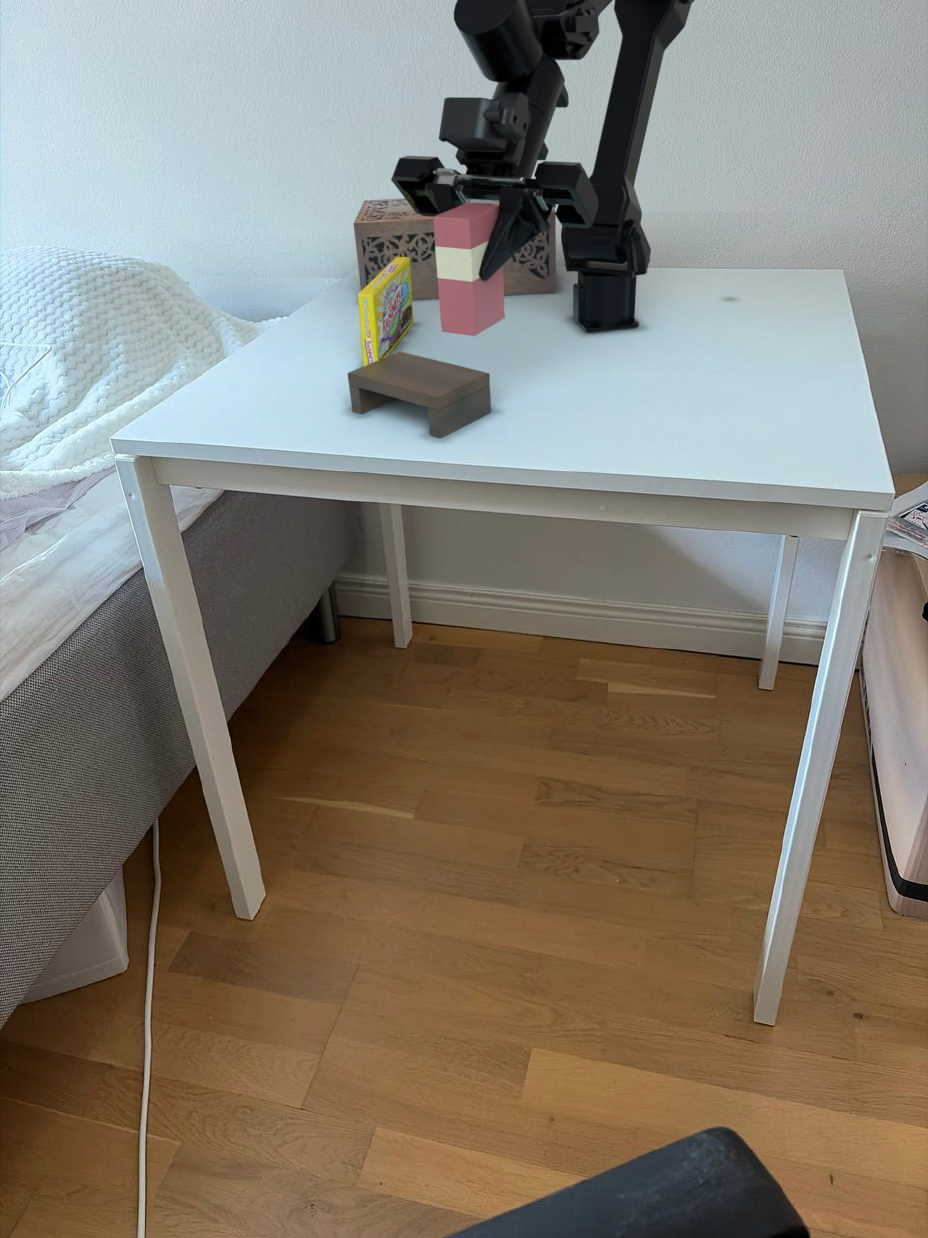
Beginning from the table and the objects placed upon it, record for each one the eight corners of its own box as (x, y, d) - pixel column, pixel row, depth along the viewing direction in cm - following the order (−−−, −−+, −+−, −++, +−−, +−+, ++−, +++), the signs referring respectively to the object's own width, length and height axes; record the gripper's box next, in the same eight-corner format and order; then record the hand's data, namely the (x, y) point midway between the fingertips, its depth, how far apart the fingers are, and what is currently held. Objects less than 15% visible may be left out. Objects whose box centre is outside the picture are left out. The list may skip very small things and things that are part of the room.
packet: (472, 313, 92) (466, 202, 86) (505, 317, 90) (501, 204, 85) (440, 331, 88) (432, 216, 82) (474, 336, 86) (468, 219, 81)
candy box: (381, 370, 106) (372, 294, 101) (362, 370, 106) (353, 294, 102) (416, 324, 119) (410, 255, 114) (399, 324, 119) (393, 255, 115)
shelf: (403, 388, 101) (399, 350, 99) (491, 412, 94) (489, 372, 92) (352, 411, 96) (347, 372, 94) (440, 438, 90) (437, 397, 87)
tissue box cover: (548, 264, 139) (548, 189, 133) (555, 292, 127) (555, 211, 121) (372, 273, 140) (364, 200, 134) (362, 302, 128) (353, 223, 122)
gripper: (391, 54, 84) (332, 216, 83) (586, 51, 75) (523, 231, 74) (445, 138, 94) (393, 284, 93) (622, 144, 85) (567, 304, 84)
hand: (462, 276), depth 86 cm, fingers closed on packet, 4 cm apart
